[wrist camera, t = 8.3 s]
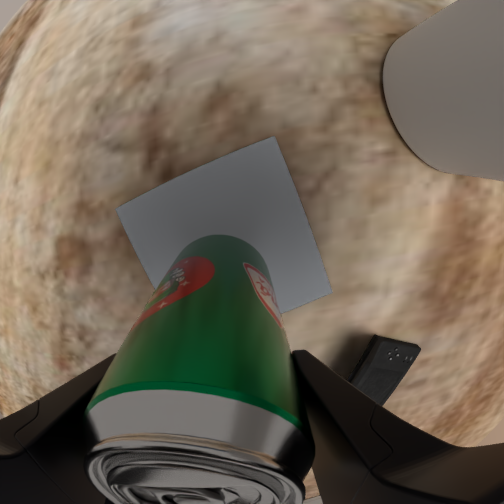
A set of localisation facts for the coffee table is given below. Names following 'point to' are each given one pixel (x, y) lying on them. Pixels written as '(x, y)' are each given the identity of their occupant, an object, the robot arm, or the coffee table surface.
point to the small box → (313, 500)
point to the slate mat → (232, 220)
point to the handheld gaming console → (383, 367)
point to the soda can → (203, 391)
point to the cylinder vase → (452, 88)
